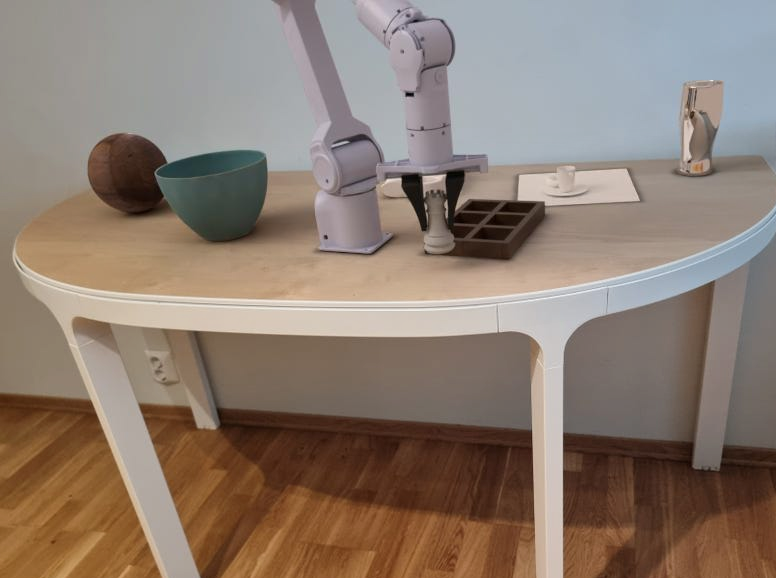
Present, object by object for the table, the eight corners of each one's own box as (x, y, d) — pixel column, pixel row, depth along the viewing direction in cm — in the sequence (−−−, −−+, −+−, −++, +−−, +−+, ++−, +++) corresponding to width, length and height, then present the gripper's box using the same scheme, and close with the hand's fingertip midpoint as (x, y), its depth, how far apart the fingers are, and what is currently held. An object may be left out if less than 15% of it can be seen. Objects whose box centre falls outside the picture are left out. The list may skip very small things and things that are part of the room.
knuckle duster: (396, 177, 143) (467, 173, 140) (378, 204, 128) (458, 200, 125) (394, 160, 141) (466, 156, 139) (376, 186, 126) (456, 181, 123)
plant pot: (152, 250, 118) (130, 178, 112) (214, 215, 132) (198, 149, 126) (243, 254, 111) (225, 178, 105) (298, 217, 126) (285, 148, 120)
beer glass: (676, 177, 123) (684, 88, 116) (671, 167, 129) (678, 81, 122) (718, 175, 122) (729, 85, 115) (711, 165, 128) (720, 78, 121)
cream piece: (542, 184, 128) (541, 162, 126) (586, 182, 126) (587, 159, 124) (542, 199, 120) (542, 175, 118) (590, 196, 119) (590, 173, 117)
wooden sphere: (190, 196, 146) (170, 122, 138) (159, 220, 133) (136, 139, 125) (123, 201, 148) (100, 128, 141) (87, 224, 135) (60, 146, 128)
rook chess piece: (436, 241, 100) (431, 185, 96) (462, 246, 97) (458, 189, 93) (417, 251, 97) (411, 195, 93) (442, 256, 94) (437, 198, 90)
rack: (424, 253, 104) (423, 238, 102) (469, 212, 118) (469, 198, 117) (508, 259, 98) (508, 243, 97) (545, 215, 113) (545, 201, 112)
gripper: (368, 137, 86) (381, 242, 93) (486, 127, 84) (491, 234, 91) (375, 125, 92) (387, 224, 99) (485, 115, 91) (490, 217, 97)
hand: (437, 228), depth 95 cm, fingers closed on rook chess piece, 3 cm apart
